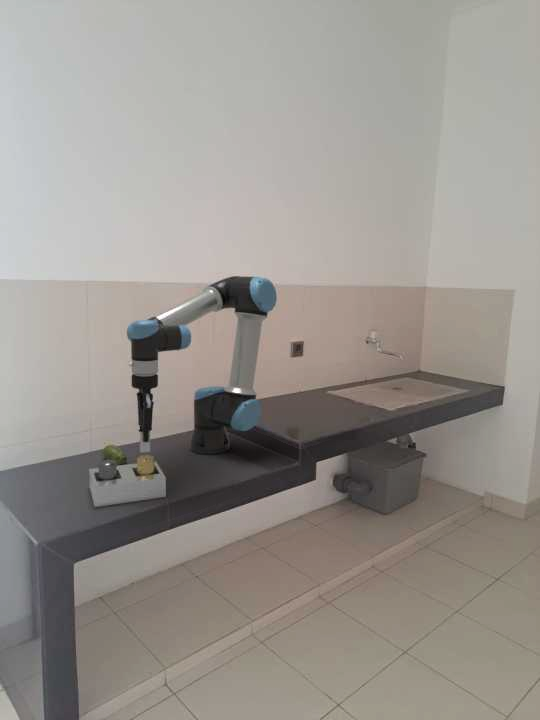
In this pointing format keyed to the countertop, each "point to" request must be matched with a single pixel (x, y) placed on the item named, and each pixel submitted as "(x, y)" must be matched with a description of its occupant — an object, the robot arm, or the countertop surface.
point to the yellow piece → (145, 465)
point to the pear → (114, 454)
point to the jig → (124, 484)
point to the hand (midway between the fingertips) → (145, 451)
